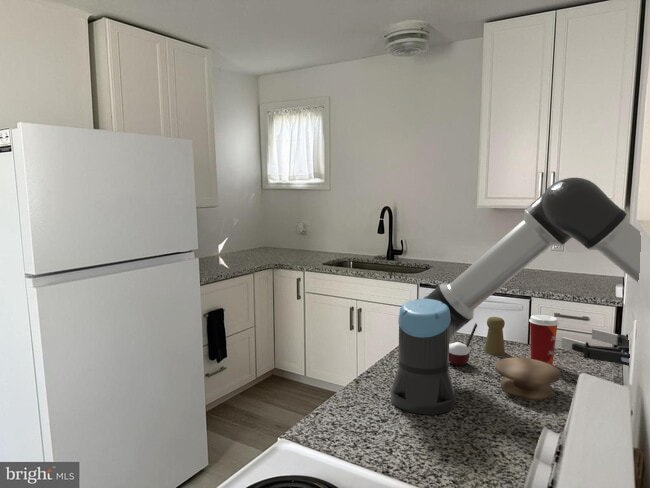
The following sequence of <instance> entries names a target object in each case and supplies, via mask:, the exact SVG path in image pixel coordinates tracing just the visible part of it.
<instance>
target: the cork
mask: <svg viewBox="0 0 650 488" xmlns="http://www.w3.org/2000/svg"><path fill="white" fill-rule="evenodd" d="M486 325H487V327H488V328H487V329H488V330H487V334H486V339H485V346H484V353H486V354H487V355H491V356H503V355H506V349H505V340H504V330H503V329H504V328H505V325H506V322H505V320H504V319H503V318H502V317H498V316H491V317H488V318H487V321H486Z"/></svg>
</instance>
